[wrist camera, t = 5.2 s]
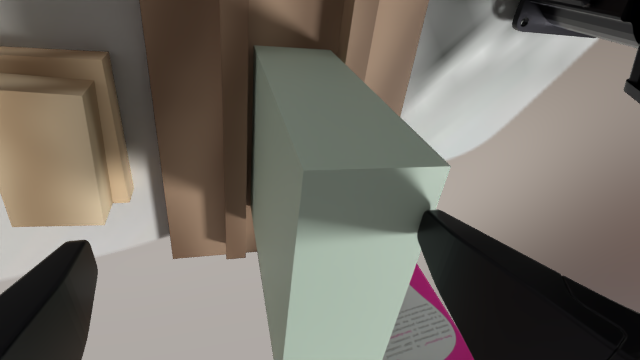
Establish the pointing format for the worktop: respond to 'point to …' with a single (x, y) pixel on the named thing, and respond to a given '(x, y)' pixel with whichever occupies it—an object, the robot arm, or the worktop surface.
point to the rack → (249, 94)
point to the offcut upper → (52, 152)
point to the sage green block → (333, 205)
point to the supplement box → (425, 327)
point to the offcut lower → (100, 71)
